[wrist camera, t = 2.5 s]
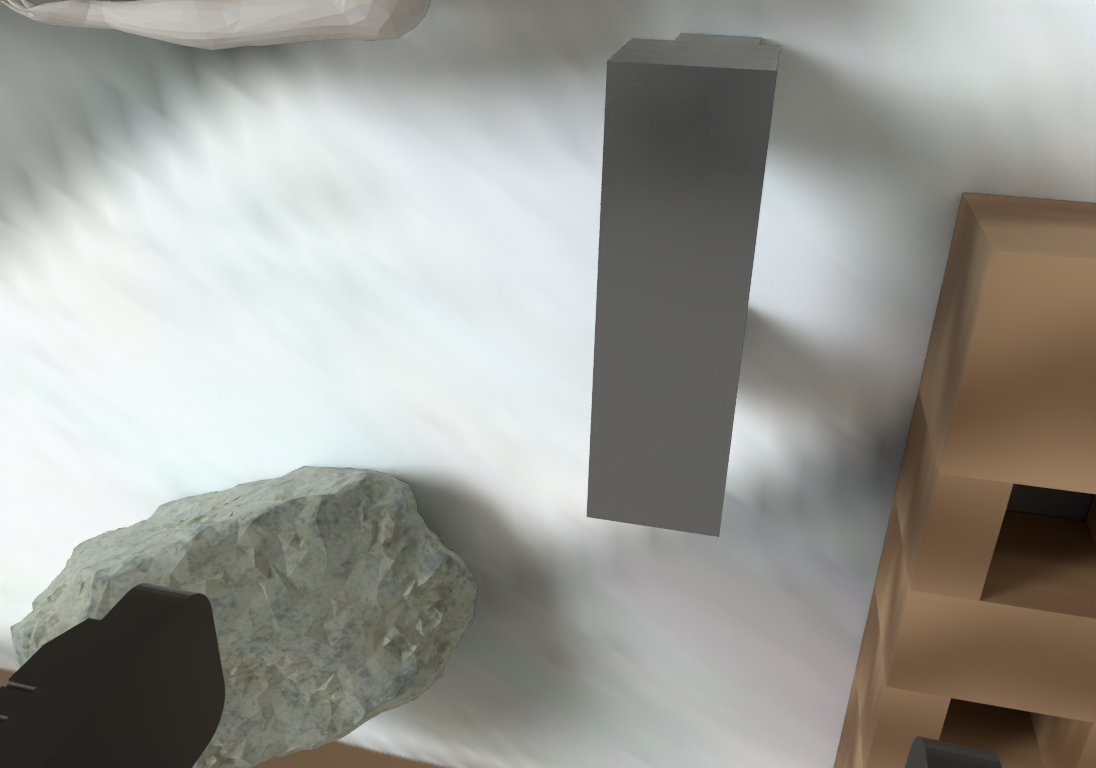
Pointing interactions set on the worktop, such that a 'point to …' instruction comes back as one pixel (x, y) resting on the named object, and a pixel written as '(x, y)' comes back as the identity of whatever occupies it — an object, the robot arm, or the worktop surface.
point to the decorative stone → (286, 601)
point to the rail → (992, 508)
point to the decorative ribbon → (236, 19)
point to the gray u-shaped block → (675, 272)
